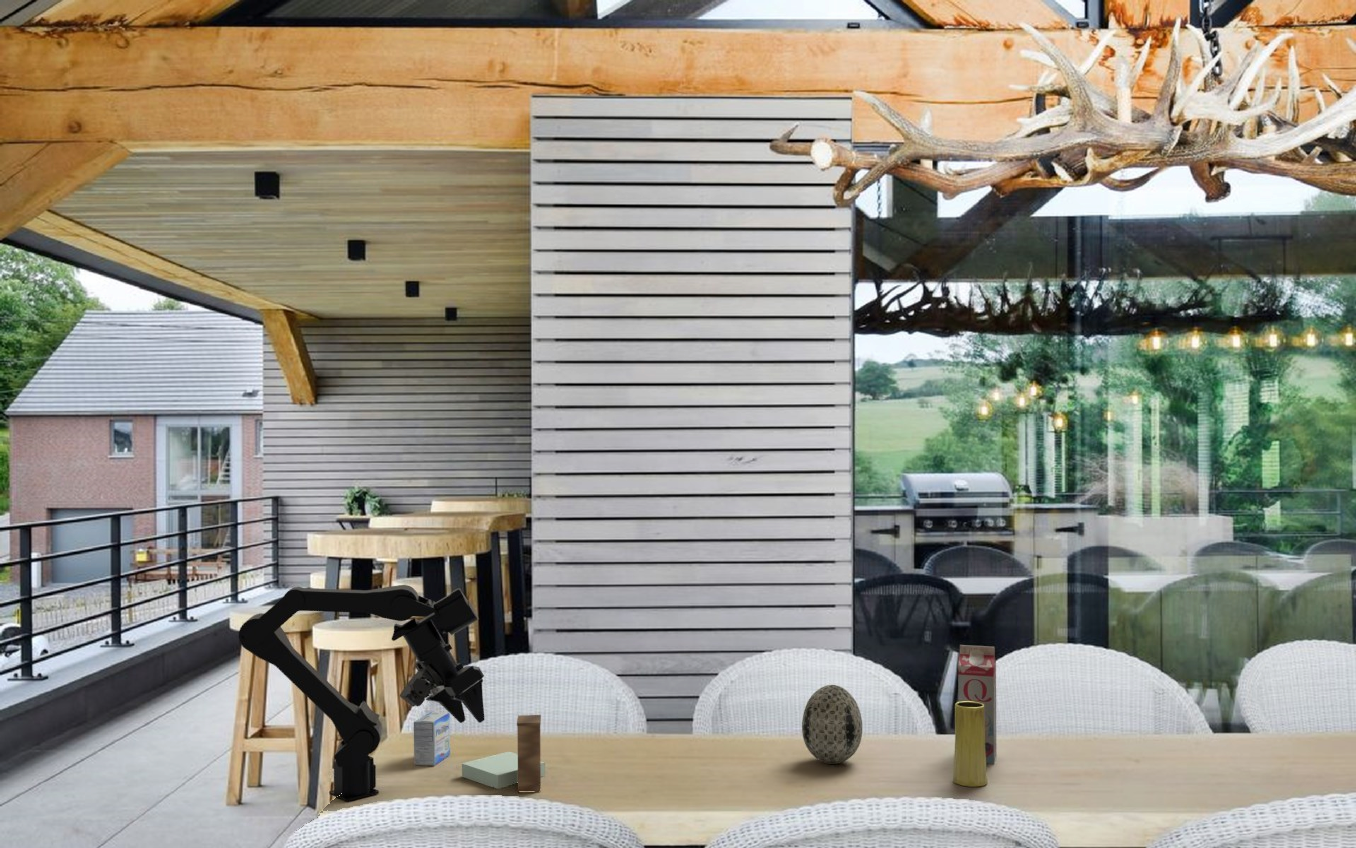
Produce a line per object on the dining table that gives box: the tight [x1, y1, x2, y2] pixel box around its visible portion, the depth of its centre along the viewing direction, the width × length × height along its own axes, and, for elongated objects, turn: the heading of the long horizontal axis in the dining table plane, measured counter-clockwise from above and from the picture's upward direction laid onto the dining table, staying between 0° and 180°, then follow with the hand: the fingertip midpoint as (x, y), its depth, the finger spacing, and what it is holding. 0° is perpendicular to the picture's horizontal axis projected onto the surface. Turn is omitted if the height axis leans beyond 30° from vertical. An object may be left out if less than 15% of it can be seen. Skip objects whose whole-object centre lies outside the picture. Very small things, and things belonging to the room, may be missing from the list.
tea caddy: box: [516, 714, 542, 792], centre depth 213 cm, size 4×6×12 cm
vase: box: [952, 701, 988, 788], centre depth 214 cm, size 6×6×14 cm
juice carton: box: [957, 644, 998, 765], centre depth 230 cm, size 7×7×22 cm
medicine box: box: [413, 711, 451, 767], centre depth 231 cm, size 8×4×9 cm, turn 168°
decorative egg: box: [801, 684, 863, 765], centre depth 227 cm, size 12×12×15 cm
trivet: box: [461, 751, 546, 790], centre depth 220 cm, size 11×11×2 cm
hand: (472, 721), depth 213 cm, fingers open, 9 cm apart
